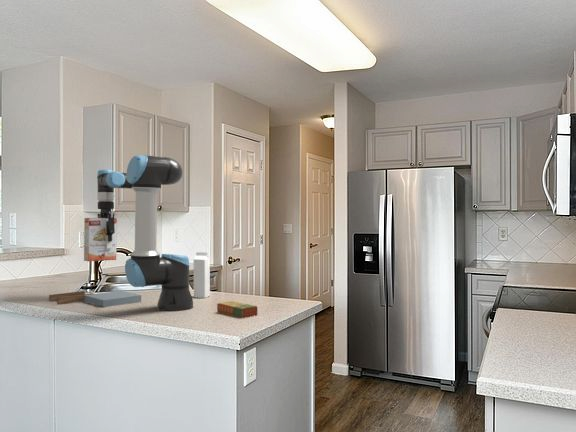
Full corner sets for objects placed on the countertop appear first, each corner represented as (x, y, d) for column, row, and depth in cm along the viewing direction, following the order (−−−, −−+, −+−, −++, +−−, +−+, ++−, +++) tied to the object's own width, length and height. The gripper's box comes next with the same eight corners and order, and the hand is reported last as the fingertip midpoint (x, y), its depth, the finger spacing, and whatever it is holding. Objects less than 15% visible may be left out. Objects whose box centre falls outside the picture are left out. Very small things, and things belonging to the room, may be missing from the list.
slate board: (141, 301, 217) (141, 295, 217) (103, 307, 204) (103, 300, 204) (120, 296, 231) (120, 290, 231) (84, 301, 218) (84, 295, 218)
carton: (232, 310, 198) (232, 300, 198) (258, 316, 187) (258, 305, 187) (216, 313, 192) (216, 302, 192) (242, 319, 181) (242, 308, 181)
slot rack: (93, 299, 222) (93, 293, 222) (58, 304, 211) (58, 297, 211) (83, 297, 230) (83, 291, 230) (49, 301, 219) (49, 294, 219)
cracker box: (88, 261, 221) (88, 217, 221) (83, 261, 225) (83, 217, 225) (117, 259, 231) (117, 217, 231) (111, 259, 235) (111, 217, 235)
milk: (198, 296, 233) (198, 251, 234) (210, 296, 232) (209, 252, 232) (193, 297, 227) (193, 252, 228) (204, 298, 226) (204, 252, 226)
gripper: (122, 200, 226) (122, 248, 226) (104, 202, 239) (104, 247, 239) (107, 200, 221) (107, 249, 220) (90, 201, 234) (90, 247, 233)
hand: (106, 248), depth 230 cm, fingers closed on cracker box, 6 cm apart
